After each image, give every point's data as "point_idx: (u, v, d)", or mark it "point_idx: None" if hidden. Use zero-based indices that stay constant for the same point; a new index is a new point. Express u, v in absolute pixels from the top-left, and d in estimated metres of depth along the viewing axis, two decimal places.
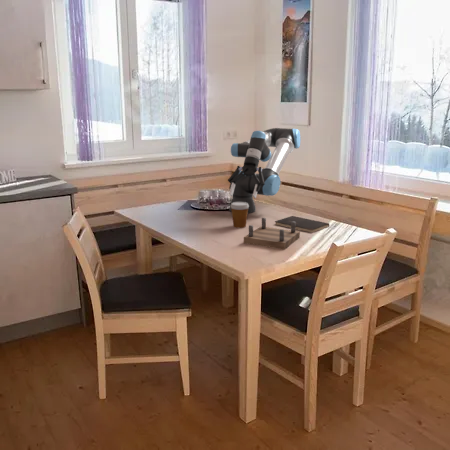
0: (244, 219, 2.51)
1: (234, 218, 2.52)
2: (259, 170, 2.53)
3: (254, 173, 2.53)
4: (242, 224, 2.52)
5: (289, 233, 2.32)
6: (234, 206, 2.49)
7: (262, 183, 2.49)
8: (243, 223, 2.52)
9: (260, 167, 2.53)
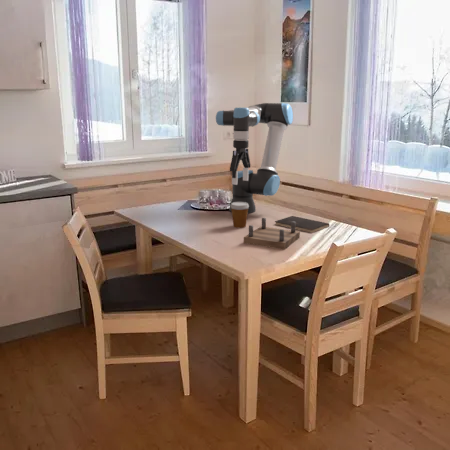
0: (244, 219, 2.51)
1: (234, 218, 2.52)
2: None
3: None
4: (242, 224, 2.52)
5: (289, 233, 2.32)
6: (234, 206, 2.49)
7: (230, 170, 2.39)
8: (243, 223, 2.52)
9: (233, 151, 2.40)
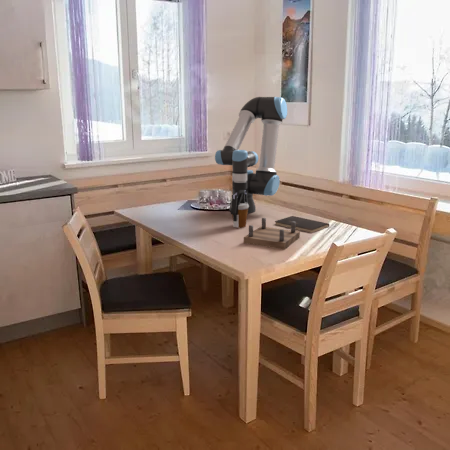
0: (244, 219, 2.51)
1: None
2: None
3: None
4: (242, 224, 2.52)
5: (289, 233, 2.32)
6: None
7: None
8: (243, 223, 2.52)
9: None
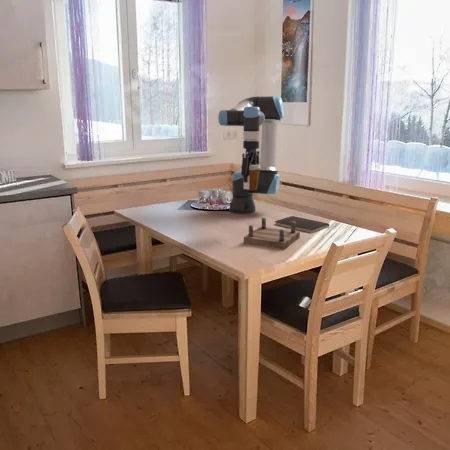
0: (255, 181, 2.37)
1: None
2: None
3: None
4: (253, 186, 2.37)
5: (289, 233, 2.32)
6: None
7: (242, 174, 2.33)
8: (254, 185, 2.37)
9: (242, 154, 2.31)
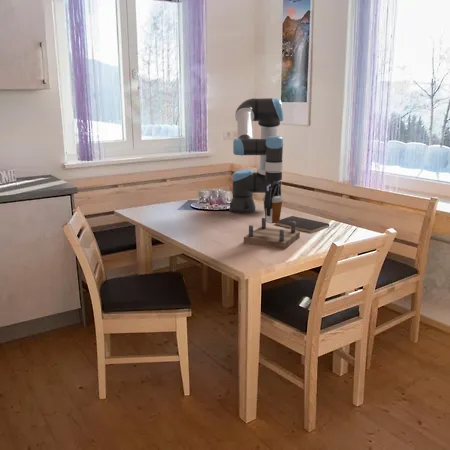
0: (278, 213, 2.25)
1: None
2: None
3: None
4: (276, 219, 2.26)
5: (289, 233, 2.32)
6: None
7: (264, 207, 2.21)
8: (277, 218, 2.26)
9: (265, 187, 2.20)
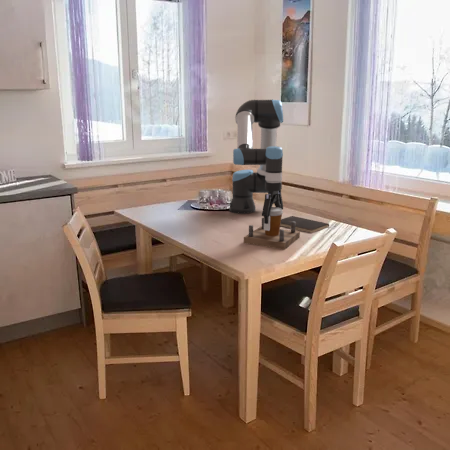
0: (277, 226, 2.27)
1: None
2: None
3: None
4: (275, 232, 2.28)
5: (289, 233, 2.32)
6: None
7: (262, 215, 2.20)
8: (276, 231, 2.28)
9: (265, 195, 2.21)
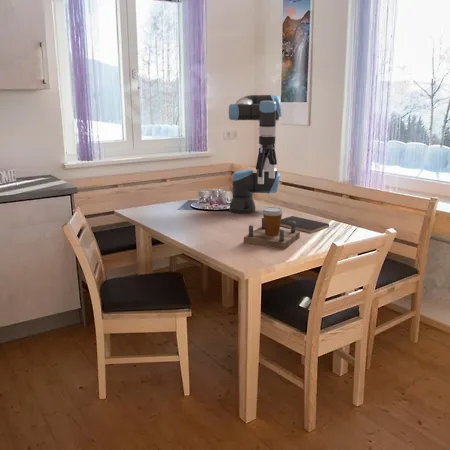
0: (277, 226, 2.27)
1: (266, 225, 2.27)
2: None
3: None
4: (275, 232, 2.28)
5: (289, 233, 2.32)
6: (267, 212, 2.25)
7: (256, 169, 2.24)
8: (276, 231, 2.28)
9: (259, 148, 2.24)
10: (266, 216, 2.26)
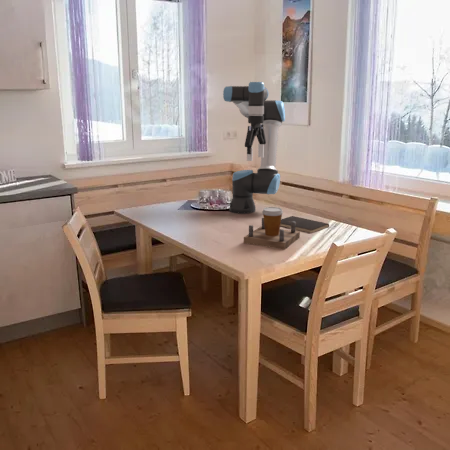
0: (277, 226, 2.27)
1: (266, 225, 2.27)
2: None
3: None
4: (275, 232, 2.28)
5: (289, 233, 2.32)
6: (267, 212, 2.25)
7: (245, 146, 2.35)
8: (276, 231, 2.28)
9: None
10: (266, 216, 2.26)
